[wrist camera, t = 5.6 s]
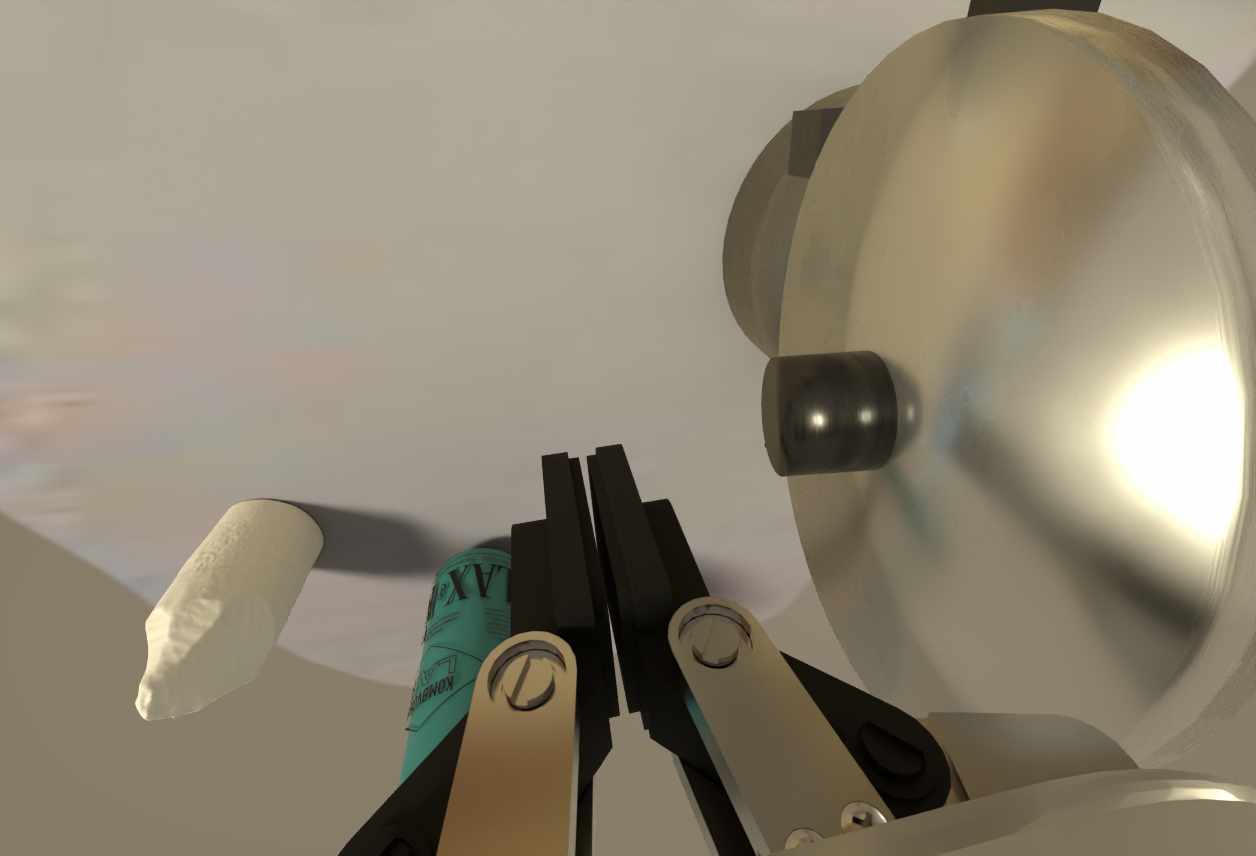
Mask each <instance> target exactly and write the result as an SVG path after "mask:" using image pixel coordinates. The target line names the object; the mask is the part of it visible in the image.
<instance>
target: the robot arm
mask: <svg viewBox="0 0 1256 856" xmlns="http://www.w3.org/2000/svg"><path fill="white" fill-rule="evenodd" d="M587 464H588V473H589V482H590V490H591V499H592V507H593V516H594V524H595V533H596V541H597V547H596V542H595V537H594V532H593V527H592V522H591V517H590V512H589V507H588V502H587V497H586V492H585V487H584V481H583V476H582V471H581V466H580V461H579V457H577V458H570V459H569V458H568V453H567V452H564V453H557V454H551V455H544V456H542V469H543V481H544V494H545V506H546V518H547V519H543V520H537V521H531V522H526V523H520V524H514V525H512V530H511V622H510V638H509V639H507V640H505V641H503V642H502V643H501V644H500V645H499V646H497V647H496V648H495V649H494V650H492V652H491V653H490V654H489V656H488V657H487V658H486V660H485V661H484V662H483V664H482V666H481V669H480V671H479V674H478V676H477V680H476V684H475V689H474V693H473V697H472V702H471V706H470V710H469V711H468V712H467V714H466V715H465V716H464V717H463V718H462V719H461V720H460V721H459V722H458V723H457V724H456V725H455V727H454V728H453V729H452V730H451V731H450V732H449V733H448V734H447V735H446V736H445V737H444V739H443V740H442V741H441V742H440V743H439V744H438V745H437V746H436V747H435V748H434V749H433V750H432V752H431V753H430V754H429V755H428V756H427V757H426V758H425V759H424V760H423V761H422V762H421V763H420V765H419V766H418V767H417V768H416V769H415V770H414V771H413V772H412V773H411V774H410V775H409V777H408V778H407V779H406V780H405V781H404V782H403V783H402V784H401V785H400V786H399V787H398V788H397V790H396V791H395V792H394V793H393V794H392V795H391V796H390V797H389V798H388V799H387V800H386V802H385V803H384V804H383V805H382V806H381V807H380V808H379V809H378V810H377V811H376V812H375V813H374V815H373V816H372V817H371V818H370V819H369V820H368V821H367V822H366V823H365V824H364V825H363V826H362V828H361V829H360V830H359V831H358V832H357V833H356V834H355V835H354V836H353V838H351V839H350V841H349V842H348V843H347V844H346V846H345V847H344V848H343V849H342V851H341V852H340V853H339V855H338V856H596V775H595V773H596V772H597V770H598V769H599V767H600V766H601V764H602V763H603V761H604V760H605V758H606V756H607V755H608V753H609V752H610V750H611V749H612V739H611V732H610V723H609V718H612V717H616V716H620V712H619V703H618V695H617V685H616V676H615V668H614V658H613V649H612V640H611V631H610V622H609V614H610V619H611V624H612V629H613V635H614V640H615V645H616V650H617V655H618V660H619V665H620V670H621V675H622V680H623V685H624V690H625V696H626V701H627V705H628V710H629V713H634V712H639V711H640V713H641V717H642V722H643V726H644V730H647V729H649V734H650V738H651V739H653V740H654V741H656V742H657V743H659V744H660V745H662V746H663V747H665V748H666V749H668V750H669V751H671V754H672V758H673V762H674V765H675V767H676V770H677V772H678V775H679V777H680V780H681V782H682V785H683V787H684V790H685V792H686V795H687V797H688V800H689V802H690V804H691V807H692V810H693V812H694V815H695V817H696V820H697V822H698V825H699V827H700V830H701V832H702V835H703V837H704V840H705V842H706V844H707V847H708V849H709V852H710V854H711V856H1256V785H1254V784H1250V783H1246V782H1241V781H1237V780H1232V779H1228V778H1223V777H1219V776H1214V775H1209V774H1202V773H1194V772H1186V771H1178V770H1168V769H1140V768H1139V767H1138V766H1137V764H1136V763H1135V762H1134V760H1133V759H1132V758H1131V757H1130V756H1129V755H1128V754H1127V753H1126V752H1125V751H1124V750H1123V749H1122V747H1121V746H1120V745H1119V744H1118V743H1117V742H1115V741H1114V740H1113V739H1111V738H1110V737H1108V736H1107V735H1106V734H1104V733H1103V732H1101V731H1100V730H1099V729H1097V728H1096V727H1094V726H1091V725H1089V724H1087V723H1085V722H1083V721H1080V720H1078V719H1076V718H1072V717H1067V716H1062V715H1056V714H1012V713H962V712H929V714H928V716H927V718H914V717H912V716H910V715H909V714H907V713H906V712H904V711H902V710H901V709H899V708H897V707H895V706H893V705H891V704H889V703H887V702H885V701H883V700H880V699H878V698H876V697H874V696H872V695H870V694H868V693H866V692H864V691H862V690H860V689H858V688H856V687H853V686H851V685H849V684H847V683H845V682H843V681H841V680H839V679H837V678H835V677H833V676H831V675H828V674H827V673H824V672H822V671H820V670H818V669H816V668H814V667H812V666H810V665H808V664H806V663H804V662H802V661H800V660H798V659H795V658H793V657H791V656H789V655H787V654H785V653H783V652H781V651H779V650H778V649H777V648H776V646H775V645H774V643H773V642H772V641H771V639H770V638H769V636H768V635H767V633H766V632H765V631H764V629H763V628H762V626H761V625H760V623H759V622H758V620H757V619H756V618H755V617H754V616H753V615H752V614H751V613H750V612H749V611H748V609H746V608H744V607H743V606H741V605H740V604H738V603H736V602H734V601H731V600H728V599H725V598H722V597H710V595H709V593H708V590H707V588H706V585H705V583H704V581H703V578H702V576H701V574H700V571H699V569H698V566H697V564H696V562H695V559H694V557H693V555H692V552H691V550H690V547H689V545H688V543H687V540H686V538H685V536H684V533H683V531H682V528H681V526H680V524H679V521H678V519H677V517H676V514H675V512H674V510H673V507H672V505H671V503H670V501H669V500H668V499H662V500H656V501H650V502H644V503H642V501H641V499H640V496H639V493H638V490H637V487H636V484H635V481H634V478H633V475H632V472H631V470H630V467H629V464H628V461H627V458H626V455H625V452H624V449H623V446H622V444H617V445H610V446H604V447H597V448H596V455H590V456H587ZM597 550H598V553H597ZM598 557H599V558H598ZM606 599H607V600H606ZM607 604H608V606H607ZM608 609H609V614H608Z"/></svg>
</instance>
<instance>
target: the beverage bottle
mask: <svg viewBox="0 0 1256 856" xmlns="http://www.w3.org/2000/svg"><path fill="white" fill-rule="evenodd" d="M437 574H438V573H437ZM435 577H436V576H435ZM434 579H435V578H434ZM435 581H436V582H434V583H435V585H434V587H433V589H432V590H433V592H432V594H431V595H430V597H431V596H432V598H431V603H430V601H429V606H428V614H427V615H428V617H427V618H426V619H427V622H428V626H427V623H426V622H425V623H426V628H427V630H426V631H425V636H424V637H425V638H424V637H423V638H424V640H423V639H422V640H423V642H425V643H424V648H423V654H422V659H421V663H420V664H421V665H420V666H419V667H420V670H419V676H418V678H417V679H418V681H417V682H416V681H415V682H416V683H417V687H416V686H415V687H416V692H415V695H414V696H415V698H414V700H413V701H414V703H413V704H412V703H411V704H412V708H410V711H412V712H411V713H412V714H411V719H410V725H409V728H406V729H405V730H408V731H409V732H408V740H407V746H406V751H405V756H404V761H403V767H402V772H401V778H400V783H399V786H400V785H401V784H402V783H403V782H404V781H405V780H406V779H407V778H408V777H409V775H410V774H411V773H412V772H413V771H414V770H415V769H416V768H417V767H418V766H419V765H420V763H421V762H422V761H423V760H424V759H425V758H426V757H427V756H428V755H429V754H430V753H431V752H432V750H433V749H434V748H435V747H436V746H437V745H438V744H439V743H440V742H441V741H442V740H443V739H444V737H445V736H446V735H447V734H448V733H449V732H450V731H451V730H452V729H453V728H454V727H455V725H456V724H457V723H458V722H459V721H460V720H461V719H462V718H463V717H464V716H465V715H466V714H467V712H468V711H469V710H470V706H471V702H472V697H473V693H474V689H475V684H476V680H477V676H478V674H479V671H480V669H481V666H482V664H483V662H484V661H485V660H486V658H487V657H488V656H489V654H490V653H491V652H492V650H494V649H495V648H496V647H497V646H499V645H500V644H501V643H502V642H503V641H505V640H507V639H509V638H510V622H511V555H510V554H508V553H506V552H503V551H500V550H496V549H490V548H479V549H472V550H468V551H464V552H462V553H459V554H457V555H455V556H454V557H452V558H451V559H450V560H448V561H447V562H446V563H445V564H444V566H443V567H442V568H441V570H440V572H439V574H438V576H437V578H436V579H435ZM429 608H430V609H429ZM428 620H429V621H428ZM424 628H425V627H424ZM422 644H423V643H422ZM418 669H419V668H418ZM417 672H418V671H417ZM415 678H416V677H415ZM415 685H416V684H415ZM414 689H415V688H414ZM413 691H415V690H413ZM412 699H413V698H412ZM411 709H412V710H411ZM408 716H409V715H408Z"/></svg>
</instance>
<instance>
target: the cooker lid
mask: <svg viewBox="0 0 1256 856" xmlns="http://www.w3.org/2000/svg"><path fill="white" fill-rule="evenodd" d="M761 406H762V424H763V433H764V439H765V444H766V449H767V452H768V456H769V459H770V462H771V464H772V466H773V468H774V470H775V472H776V473H777V474H778V475H779V476H787V481H788V487H789V492H790V497H791V502H792V507H793V512H794V517H795V521H796V525H797V529H798V533H799V537H800V541H801V544H802V548H803V551H804V555H805V558H806V562H807V565H808V568H809V571H810V574H811V577H812V580H813V583H814V585H815V588H816V591H817V593H818V596H819V599H820V601H821V604H822V606H823V608H824V611H825V614H826V616H827V618H828V620H829V622H830V625H831V627H832V629H833V631H834V633H835V635H836V637H837V639H838V641H839V643H840V645H841V647H842V649H843V651H844V653H845V654H846V656H847V658H848V660H849V662H850V664H851V665H852V667H853V668H854V670H855V672H856V673H857V675H858V676H859V678H860V679H861V681H862V682H863V684H864V686H865V687H866V689H867V690H868V691H869V693H870V694H871V695H872V696H874V697H876V698H878V699H880V700H883V701H885V702H887V703H889V704H891V705H893V706H895V707H897V708H899V709H901V710H902V711H904V712H906V713H907V714H909V715H910V716H912V717H914V718H927V716H928V714H929V712H962V713H1012V714H1056V715H1062V716H1067V717H1072V718H1076V719H1078V720H1080V721H1083V722H1085V723H1087V724H1089V725H1091V726H1094V727H1096V728H1097V729H1099V730H1100V731H1101V732H1103V733H1104V734H1106V735H1107V736H1108V737H1110V738H1111V739H1113V740H1114V741H1115V742H1117V743H1118V744H1119V745H1120V746H1121V747H1122V749H1123V750H1124V751H1125V752H1126V753H1127V754H1128V755H1129V756H1130V757H1131V758H1132V759H1133V760H1134V762H1135V763H1136V764H1137V766H1138V767H1139V768H1140V769H1156V768H1158V767H1160V766H1163V765H1165V764H1167V763H1170V762H1172V761H1174V760H1177V759H1179V758H1181V757H1183V756H1185V755H1188V754H1189V753H1191V752H1192V751H1193V750H1194V749H1196V748H1197V747H1198V746H1199V745H1201V744H1202V743H1203V742H1204V741H1206V740H1207V739H1208V738H1209V737H1211V736H1212V735H1213V734H1215V733H1216V732H1217V731H1218V730H1220V729H1221V728H1222V727H1223V726H1225V725H1226V724H1227V723H1228V722H1230V721H1231V720H1232V719H1234V718H1235V717H1236V716H1237V715H1238V713H1239V712H1240V711H1241V710H1242V708H1243V707H1244V706H1245V704H1246V703H1247V702H1248V701H1249V699H1250V698H1251V697H1252V695H1253V694H1254V693H1255V692H1256V122H1255V121H1254V120H1253V119H1252V118H1251V116H1249V114H1248V113H1247V112H1246V111H1245V110H1244V109H1243V108H1242V107H1241V106H1240V104H1239V103H1238V102H1237V101H1236V100H1235V99H1234V98H1233V97H1232V96H1231V95H1230V94H1229V92H1228V91H1227V90H1226V89H1225V88H1224V87H1223V86H1222V85H1221V84H1220V83H1219V82H1218V80H1217V79H1216V78H1215V77H1214V76H1213V75H1212V74H1211V73H1210V72H1209V71H1208V70H1207V68H1206V67H1205V66H1204V65H1202V64H1201V63H1199V62H1198V61H1196V60H1195V59H1193V58H1192V57H1190V56H1189V55H1187V54H1186V53H1184V52H1183V51H1181V50H1180V49H1178V48H1177V47H1175V46H1174V45H1172V44H1171V43H1169V42H1168V41H1166V40H1165V39H1163V38H1162V37H1160V36H1159V35H1157V34H1156V33H1154V32H1153V31H1151V30H1149V29H1146V28H1143V27H1140V26H1137V25H1134V24H1131V23H1129V22H1126V21H1123V20H1120V19H1117V18H1114V17H1111V16H1108V15H1106V14H1103V13H1099V12H1086V11H1073V10H1061V9H1046V10H1034V11H1022V12H1010V13H998V14H986V15H977V16H972V17H966V18H961V19H955V20H949V21H945V22H942V23H940V24H938V25H936V26H934V27H931V28H929V29H927V30H925V31H923V32H920V33H918V34H916V35H914V36H913V37H911V38H910V39H909V40H907V41H906V42H905V43H903V44H902V45H901V46H899V47H898V48H897V49H895V50H894V51H892V52H891V53H890V54H888V55H887V56H886V57H885V58H884V60H883V61H882V62H881V63H880V64H879V65H878V66H877V67H876V68H875V69H874V70H873V71H872V72H871V73H870V74H869V75H868V76H867V77H866V78H865V80H864V81H863V82H862V84H861V85H860V86H859V88H858V89H857V90H856V92H855V93H854V94H853V96H852V97H851V98H850V100H849V101H848V102H847V104H846V106H845V107H844V109H843V111H842V112H841V114H840V116H839V117H838V119H837V121H836V123H835V124H834V126H833V128H832V130H831V132H830V134H829V136H828V138H827V140H826V142H825V144H824V146H823V148H822V150H821V152H820V154H819V157H818V159H817V162H816V165H815V167H814V170H813V172H812V175H811V177H810V180H809V182H808V186H807V189H806V192H805V195H804V198H803V201H802V204H801V207H800V211H799V215H798V219H797V223H796V226H795V230H794V234H793V239H792V244H791V249H790V254H789V258H788V264H787V270H786V277H785V283H784V290H783V299H782V308H781V319H780V334H779V357H773V358H771V359H770V360H769V362H768V364H767V366H766V369H765V373H764V378H763V385H762V401H761Z"/></svg>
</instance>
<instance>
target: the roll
mask: <svg viewBox="0 0 1256 856" xmlns="http://www.w3.org/2000/svg"><path fill="white" fill-rule="evenodd" d="M322 546H323V535H322V532H321V530H320V528H319V526H318V525H317V524H316V522H315V521H314V520H313V519H312V518H311V517H310V516H309V515H308V514H307V513H305V512H304V511H303V510H301V509H299V508H297V507H295V506H293V505H290V504H287V503H283V502H279V501H273V500H266V499H259V500H249V501H244V502H240V503H238V504H235V505H234V506H232V507H231V508H230V509H229V510H228V511H227V512H226V514H225V515H224V516H223V517H222V518H221V520H220V521H219V523H218V524H217V525H216V526H215V527H214V529H213V530H212V531H211V533H210V534H209V535H208V536H207V538H206V539H205V540H204V541H203V542H202V543H201V545H200V546H199V547H198V548H197V549H196V551H195V552H194V553H193V554H192V556H191V557H190V558H189V559H188V560H187V561H186V563H185V565H184V566H183V567H182V569H181V571H180V572H179V574H178V576H177V577H176V579H175V580H174V581H173V582H172V584H171V586H170V587H169V588H168V590H167V591H166V593H165V594H164V595H163V597H162V598H161V600H160V601H159V602H158V604H157V605H156V607H155V609H154V610H153V611H152V613H151V614H150V616H149V618H148V619H147V621H146V632H147V640H148V647H149V648H148V650H149V654H148V662H147V668H146V671H145V674H144V676H143V678H142V681H141V683H140V686H139V694H138V698H137V700H136V702H135V704H136V707H137V709H138V711H139V713H140V715H141V716H142V717H143V718H144V719H146V720H148V721H152V720H154V719H155V720H159V719H167V718H169V717H173V719H177V718H178V717H180V716H181V715H183V714H185V713H191V712H196V711H199V710H201V709H202V708H204V707H205V706H206V705H208V704H209V703H211V702H212V701H214V700H216V699H218V698H219V697H221V696H222V695H224V694H225V693H227V692H230V691H232V690H234V689H236V688H238V687H241V686H243V685H245V684H246V683H248V682H250V681H252V680H254V679H255V678H256V677H257V676H258V674H259V672H260V670H261V668H262V667H263V665H264V663H265V661H266V659H267V657H268V656H269V654H270V652H271V651H272V649H273V647H274V645H275V643H276V641H277V639H278V637H279V635H280V633H281V631H282V629H283V627H284V625H285V623H286V621H287V619H288V616H289V615H290V612H291V610H292V608H293V606H294V604H295V602H296V599H297V598H298V596H299V594H300V592H301V590H302V587H303V585H304V583H305V580H306V578H307V576H308V574H309V572H310V570H311V569H312V567H313V565H314V563H315V561H316V559H317V557H318V555H319V553H320V551H321V549H322Z"/></svg>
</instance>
